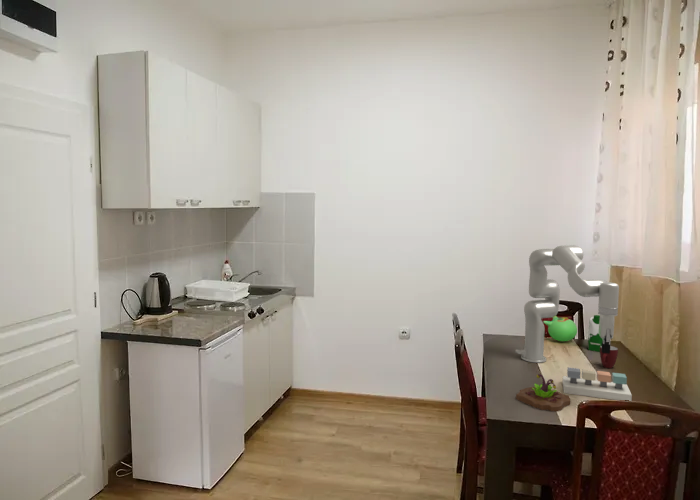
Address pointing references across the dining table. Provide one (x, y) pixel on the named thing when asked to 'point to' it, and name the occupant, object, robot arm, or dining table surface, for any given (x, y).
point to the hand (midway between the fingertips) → (605, 352)
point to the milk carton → (594, 334)
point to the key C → (603, 378)
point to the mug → (609, 357)
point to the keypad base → (596, 389)
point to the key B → (588, 376)
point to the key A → (573, 374)
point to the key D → (619, 380)
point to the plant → (544, 396)
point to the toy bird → (561, 328)
